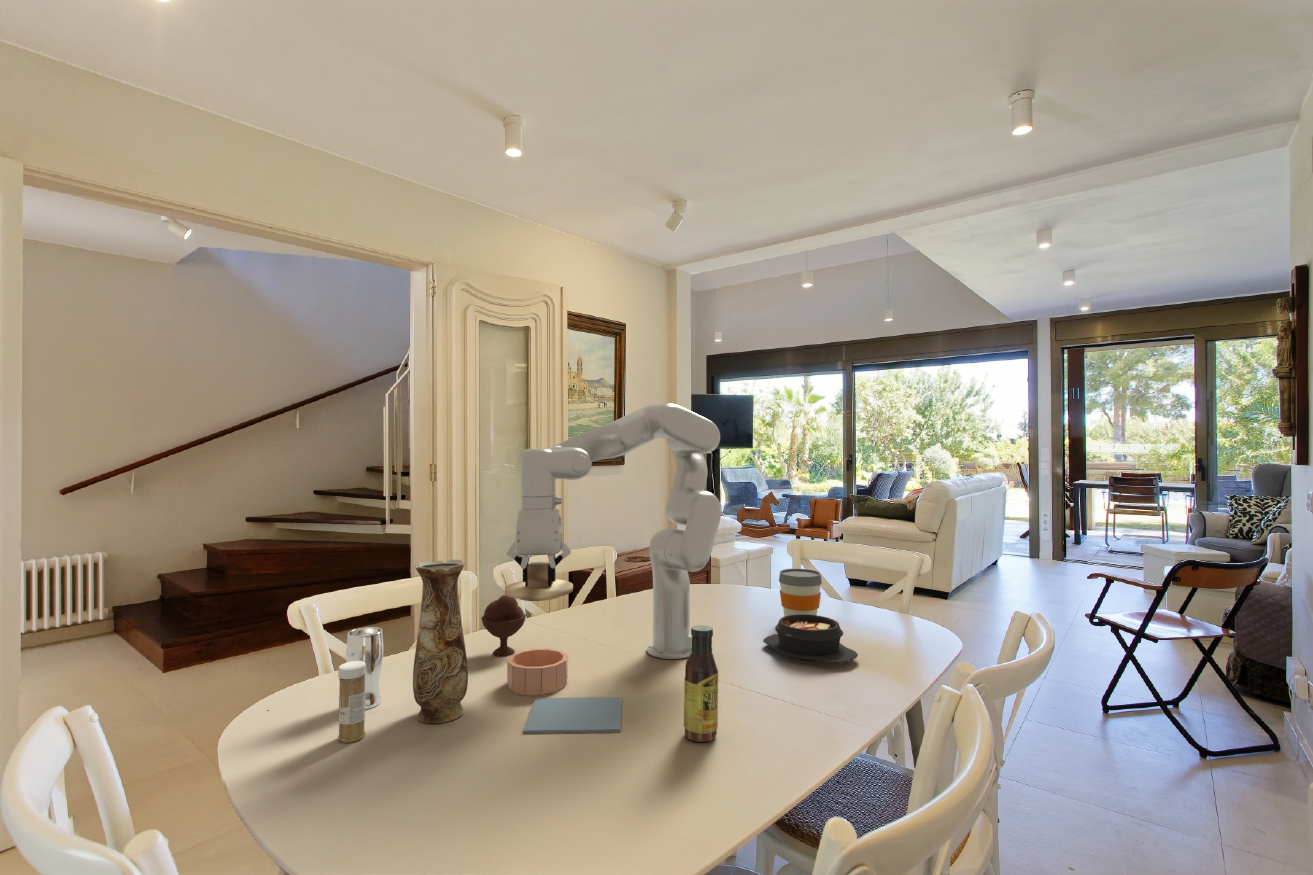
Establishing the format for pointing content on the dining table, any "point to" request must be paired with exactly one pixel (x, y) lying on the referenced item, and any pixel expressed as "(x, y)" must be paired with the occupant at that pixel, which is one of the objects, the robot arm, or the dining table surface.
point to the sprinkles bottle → (351, 701)
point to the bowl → (537, 671)
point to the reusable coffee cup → (800, 591)
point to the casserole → (810, 639)
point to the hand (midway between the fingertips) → (539, 584)
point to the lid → (538, 585)
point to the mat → (575, 715)
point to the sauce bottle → (701, 688)
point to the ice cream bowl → (503, 622)
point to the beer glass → (367, 659)
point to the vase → (440, 645)
